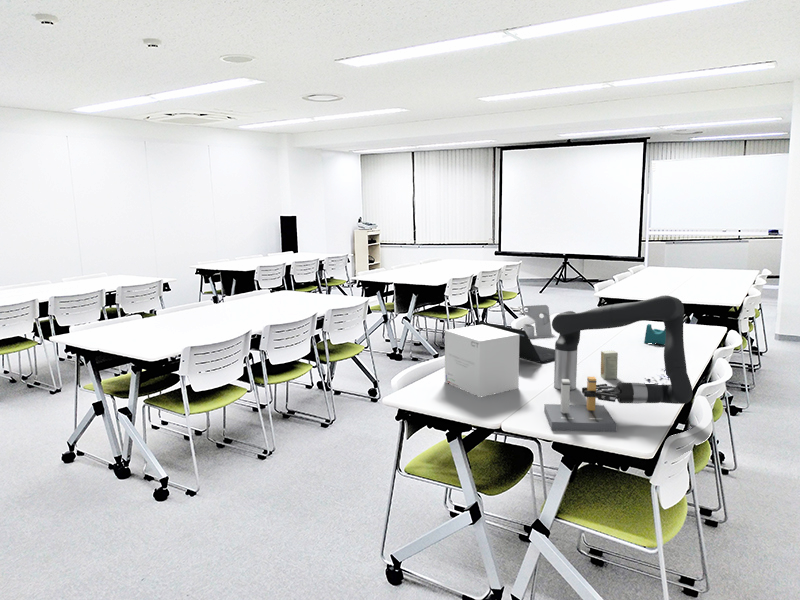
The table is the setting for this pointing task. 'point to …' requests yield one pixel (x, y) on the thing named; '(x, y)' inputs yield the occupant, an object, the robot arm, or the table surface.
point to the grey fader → (565, 395)
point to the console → (579, 418)
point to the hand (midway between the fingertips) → (583, 392)
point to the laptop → (527, 345)
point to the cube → (482, 359)
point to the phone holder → (538, 321)
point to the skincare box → (609, 364)
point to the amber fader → (591, 387)
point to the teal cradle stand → (655, 335)
